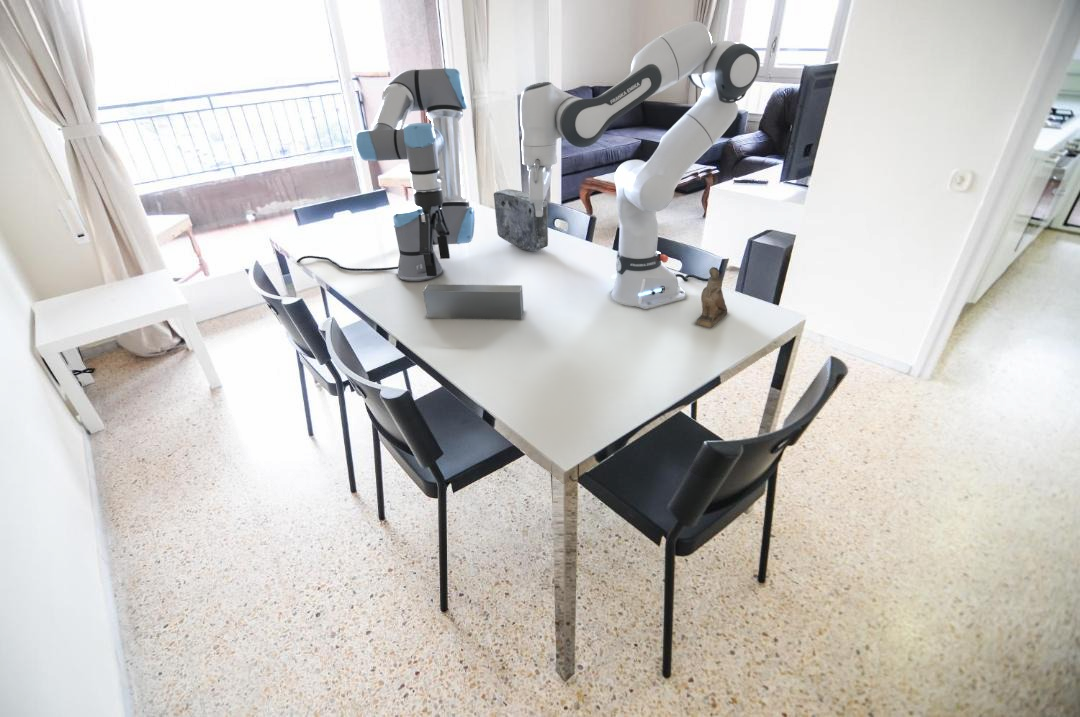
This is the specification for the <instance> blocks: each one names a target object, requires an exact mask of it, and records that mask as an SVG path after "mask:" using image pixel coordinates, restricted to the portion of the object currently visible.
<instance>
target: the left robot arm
mask: <svg viewBox="0 0 1080 717" xmlns="http://www.w3.org/2000/svg"><path fill="white" fill-rule="evenodd" d="M381 95H382V96H381V98H382V99H381V101H382V103H381V105H380V107H379V109H378V112H377V114H376V116H375V118H374V121H373V123H372V124H371V128H370V129H365V130H359V131H357V133H356V135H355V145H356V150H357V153H358V155H359V158H361V160H362V161H365V162H367V161H368V162H369V161H370V162H381V161H398V160H399V161H400V160H407V162H408V168H409V176H410V183H411V188H412V190H413V193H412V194H413V200H414V201H413V202H414V204H410V205H407V206H403V207H401V208H399V209H397V210H396V211H395V212H394V213H393V216H392V219H393V228H394V230H395V231H394V232H395V236H396V242H397V247H398V251H399V259H398V265H397V266H391V267H379V268H378V267H377V268H376V267H375V268H373V267H371V268H353V267H346V266H342V265H340V264H339V263H337V262H336V261H334V260H332V259H331V258H329V257H325V256H317V255H304V256H302V257H300V258H298V259H297V261H296V263H300V262H301V261H302V260H305V259H316V260H317V259H318V260H326V261H329V262H330V263H331V264H333V265H335V266H336V267H338V268H339V269H341V270H344V271H349V272H350V271H352V272H376V271H377V272H378V271H391V270H392V271H393V270H397V276H398V278H399V279H400V280H402V281H406V282H413V283H414V282H425V281H429V280H432V279H435V278H438V277H439V276H440V275H441V274H442V273H443V268H442V264H441V263H440V260H446V259H447V260H449V259H451V255H450V247H449V245H460V244H468V243H471V241H473V238H474V234H475V233H474V232H475V209H474V208H473V207H472V206H470V201H468V200H467V199H466V198H465V191H464V177H463V164H462V163H463V161H462V151H461V150H462V148H461V136H460V123H459V122H460V120H461V119H462V117H463V116H464V112H463V111H464V110H466V109H467V108H468V103H467V96H466V91H465V87H464V82H463V79H462V75H461V72H460V70H458V69H457V68H446V67H443V68H425V69H422V68H421V69H409V70H405V71H403V72H401V73H399V74H398V75H396V76H394V77H393V78H392V79H391V80H390V81H389V82H388V83H387V84H386V85H385V87H384V89H383V91H382V94H381ZM421 111H422V112H423V111H424V112H426V113H425V114H426V116H427V118H428V119H429V120H430V121H431V123H429V122H415V123H409V124H405V122H406V119H407V116H408V115H410V114H411V113H412V112H421ZM434 246H438V254H439V259H440V260H439V259H438V256H437V254H436V252H435V250H434Z"/></svg>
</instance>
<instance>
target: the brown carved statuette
mask: <svg viewBox="0 0 1080 717" xmlns="http://www.w3.org/2000/svg"><path fill="white" fill-rule="evenodd" d="M719 272H720V270H719V269H718V268H717V267H715V266H712V267H711V268H710V269H709V270H708V273H709V275H710V276H709V277H708V278H709V279H708V281H707V284H706V286H705V287H704V288H703V290H702V292H701V297H700V298H701V309H702V312H701V315H700V316H699V317H698V318H697V319H696V321H695V324H696V325H699V326H703V327H705V328H712V327H714V326H715V325H716V324H717V323H719V321H721V320H722V319H723V318H725V317H726V316H727V315H728V307H727V304H726V301H725V298H724V293H723V290H722V287H723V281H722V279H721V278H720V273H719Z"/></svg>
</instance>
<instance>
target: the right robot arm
mask: <svg viewBox="0 0 1080 717" xmlns="http://www.w3.org/2000/svg"><path fill="white" fill-rule="evenodd" d="M630 65H631V66H630V72H629V74H628V75H627V76H626V77H625V78H624V79H622V80H620V81H619V82H618V83H616V84H615V85H613V86H612V87H610V88H609V89H607V90H606V91H604V92H603V93H601V94H599V95H598V96H596V97H591V98H581V97H579V96H575V95H573V94H570V93H568V92H566V91H564V90H562V89H560V88H559V87H557V86H556V85H554V83H552V82H550V81H543V82H537V83H534V84H530V85H528V86H526V87H525V88H524V89H523V90H522V92H521V95H520V103H519V123H520V124H519V125H520V129H521V133H522V137H521V141H520V142H521V161H522V162H521V163H522V165H523V166H526V168H527V171H528V193H529V199H530V202H534V206H535V212H536V217H542V215H543V207H545V206H546V200H547V197H548V196H547V195H548V191H549V188H550V186H551V184H552V183H551V182H552V173H553V172H552V171H553V165H556V164H557V162H558V144H557V143H558V139H563V138H564V139H565V140H566V141H567V142H568V143H569V144H570V145H572V146H573V147H577V148H588V147H590V146H593V145H595V143H597V142H598V141H599V140H600V139H601V138H602V136H603V135H604V133H605V132H606V131H607V130H608V128H609V127H610V125H612V124H613V123H614V122H615V121H617V120H618V119H620V118H621V117H622V116H624V115H625V114H627V113H628V112H630V111H631V110H633V109H635V107H638V106H639V105H640V104H642V103H644V101H646V100H648V99H649V98H652V97H653V96H655V95H657V94H660V93H662V92H663V91H665V90H667V89H669V88H671V87H672V86H674V85H675V84H678V83H679V82H681V81H682V80H684V79H685V78H687V79H688V80H689V82H690V83H691V84H692V85H693V86H695V87H696V88H699V89H701V90H702V91H701V94H700V96H699V97H698V99H697V101H696V102H695V103H694V105H693V106H692V107H691V108H689V109H688V110H687V111H686V112H685V113H684V114H683V115H682V116H681V117H680V118H679V119H678V120H677V121H676V122H675V123H674V124H673V125H672V126H671V127H670V128H669V129H668V130H667V131H666V132H665V133H664V134H663V135H662V136H661V138H660V140H659V144H658V146H657V148H656V149H655V150H654V152H653V154H652V155H651V156H650V157H649V159H648V160H647V161H644V160H641V159H630V160H626V161H624V162H622V163H621V164H620V165H619V166H618V167H617V169H616V171H615V173H614V177H613V181H614V186H615V190H616V191H615V192H616V204H617V213H618V223H619V224H618V225H619V234H618V251H617V252H616V261H615V267H616V268H615V270H616V273H615V274H613V275H611V279H612V280H613V279H614V285H613V288H612V291H611V293H610V297H611V299H612V300H613V301H614V302H616V303H619V304H620V305H624V306H631V307H637V308H641V309H645V310H649V309H653V308H656V307H659V306H660V307H661V306H664V305H667V304H670V303H674V302H678V301H682V300H684V299H686V293H685V291H684V290H683V289H682V288H681V287H680V286H679V280H678V278H681V279H682V281H683V282H688V281H689V278H692V279H696V280H698V281H702V282H708V279H709V278H710V277H707V278H704V277H700V276H698V275H696V274H686V275H684V274H681V273H675V272H673V270H672V271H671V270H670V269H669V268H668V267H667V266H665V264H663V263H668V261H669V257H668V256H667V255H666V254H665V253H663V254H662V253H661V252H660V251H658V241H659V230H660V226H659V222H658V219H657V213H658V212H660V211H663V210H665V209H666V208H667V207H668V206H670V204H671V202H672V201H673V198H674V196H675V190H676V188H677V186H678V185H679V184H680V182H681V180H682V179H683V178H684V176H685V174H686V173H688V171H689V169H690V168H691V167H692V166H693V165H695V163H696V162H697V161H698V160H699V159H701V157H702V156H703V155H704V154H705V153H706V152H707V151H708V150H710V149H711V147H713V146H714V145H715V144H716V143H717V142H718V140H720V138H722V136H723V135H724V134H725V133H726V131H727V130H728V129H729V128H730V127H731V125H732V124H733V122H734V121H735V120H736V118H737V116H738V114H739V113H738V112H739V107H738V103H737V102H738V101H740V100H741V99H744V97H745V96H746V94H747V91H748V90H749V89H750V88H751V87H752V86H753V84H754V83H755V81H756V80H757V77H758V75H759V72H760V69H761V59H760V55H759V53H758V52H757V51H756V49H755V48H753V47H752V46H750V45H749V44H747V43H743V42H735V41H731V40H722V41H721V40H718V41H717V40H712V36H711V33H710V30H709V29H708V27H707V26H706V25H705V23H702V22H701V21H696V20H693V21H690V22H686V23H684V24H681V25H679V26H677V27H675V28H673V29H671V30H668V31H667V32H665V33H663V34H661V35H659V36H657V37H656V38H654V39H653V40H651V41H650V42H648V43H647V44H646V45H644V47H642V48H641V49H640V50H639V51H638V52H637V53H636V54H635V55H634V56H633V58H632V61H631V64H630ZM656 212H657V213H656ZM720 273H721V272H720V271H719V274H720Z"/></svg>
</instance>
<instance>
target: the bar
mask: <svg viewBox="0 0 1080 717" xmlns="http://www.w3.org/2000/svg"><path fill="white" fill-rule="evenodd" d="M422 292H423V298H424V304H425V305H424V306H425V311H426V317H427V319H461V320H462V319H465V320H466V319H467V320H469V319H470V320H471V319H472V320H520V321H521V320H522V318H523V316H524V298H523V297H524V294H523V285H520V284H519V285H517V284H516V285H515V284H511V285H510V284H431V283H430V284H427V285H426V286H425V288H424V289H423V290H422Z"/></svg>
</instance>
